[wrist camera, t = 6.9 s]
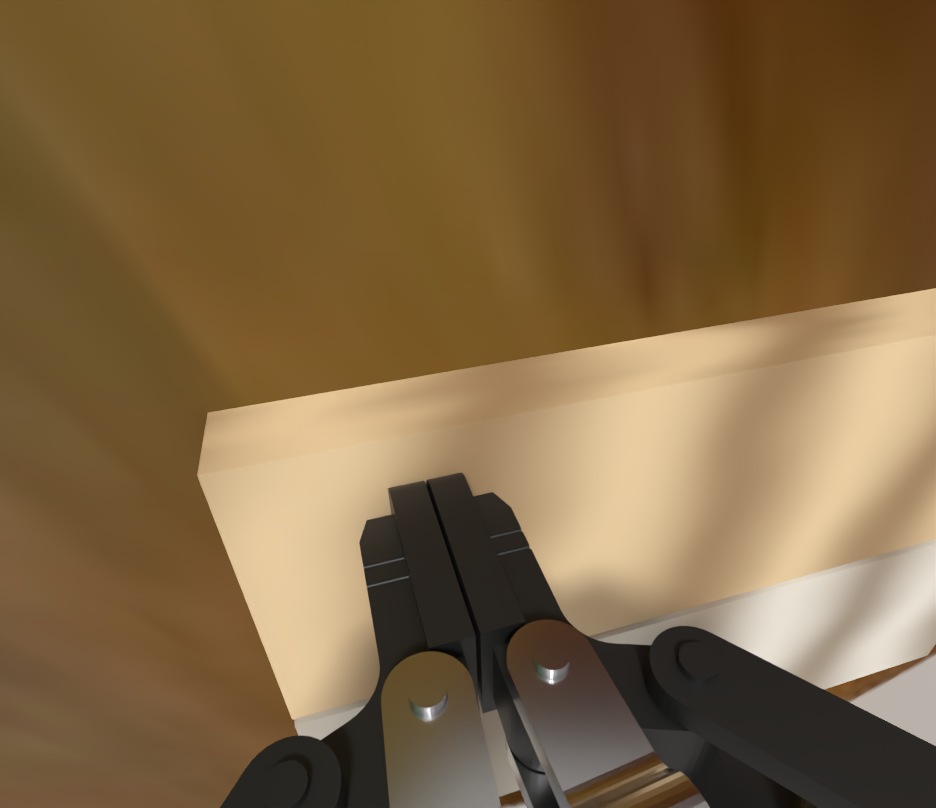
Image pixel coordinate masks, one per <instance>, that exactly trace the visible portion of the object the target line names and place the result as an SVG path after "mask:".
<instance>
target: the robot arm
mask: <svg viewBox="0 0 936 808" xmlns="http://www.w3.org/2000/svg"><path fill="white" fill-rule="evenodd" d="M388 494H389V501H390V508H391V515H388V516H383V517H379V518H374V519H370V520H367V521H366V524H365V527H364V530H363V533H362V536H361V539H360V542H359V544H360V550H361V556H362V562H363V568H364V574H365V580H366V586H367V592H368V597H369V603H370V609H371V615H372V621H373V627H374V633H375V639H376V644H377V650H378V656H379V664H380V671H379V679H378V683H377V686H376V688H375V691H374V693H373V695H372V697H371V698H370V700H369V702H368V703H367V704H366V705H365V707H364V708H363V709H362V710H361V711H360V712H359V713H358V714H357V715H356V716H355V717H353V718H352V719H351V720H350V721H348V722H347V723H345V724H344V725H342V726H341V727H339V728H338V729H336V730H335V731H333V732H332V733H330V734H329V735H327V736H326V737H324V738H323V739H321V740H319V739H317V738H314V737H311V736H303V735H300V736H291V737H287V738H284V739H281V740H279V741H276V742H274V743H273V744H271V745H269V746H268V747H266V748H265V749H264V750H263V751H261V752H260V753H259V754H258V755H257V756H256V757H255V758H254V759H253V760H252V761H251V762H250V764H249V765H248V766H247V768H246V769H245V771H244V772H243V774H242V775H241V777H240V778H239V780H238V781H237V783H236V784H235V786H234V787H233V789H232V790H231V792H230V793H229V795H228V796H227V798H226V800H225V801H224V803H223V804H222V806H221V807H220V808H501V805H500V801H499V796H498V792H497V787H496V783H495V778H494V774H493V769H492V765H491V760H490V756H489V751H488V747H487V742H486V738H485V733H484V729H483V724H482V720H481V715H480V707H479V703H480V706H481V709H482V713H486V712H490V711H493V710H496V709H497V711H498V714H499V717H500V720H501V723H502V726H503V729H504V732H505V749H506V755H507V758H508V761H509V763H510V766H511V768H512V771H513V773H514V776H515V778H516V781H517V784H518V786H519V789H520V791H521V794H522V796H523V799H524V801H525V804H526V806H527V808H936V746H934V745H932V744H930V743H928V742H926V741H924V740H922V739H920V738H918V737H916V736H914V735H912V734H910V733H908V732H906V731H904V730H902V729H900V728H898V727H897V726H894V725H893V724H891V723H888V722H887V721H885V720H883V719H881V718H879V717H877V716H875V715H873V714H871V713H869V712H867V711H865V710H863V709H861V708H859V707H857V706H855V705H853V704H851V703H849V702H847V701H845V700H843V699H841V698H839V697H837V696H835V695H833V694H831V693H829V692H827V691H825V690H823V689H821V688H819V687H817V686H815V685H813V684H812V683H810V682H808V681H806V680H804V679H802V678H800V677H798V676H796V675H794V674H792V673H790V672H788V671H786V670H784V669H782V668H780V667H778V666H776V665H774V664H772V663H770V662H768V661H766V660H764V659H762V658H760V657H758V656H756V655H754V654H752V653H750V652H748V651H746V650H744V649H742V648H740V647H738V646H736V645H734V644H732V643H730V642H728V641H727V640H725V639H723V638H721V637H719V636H717V635H715V634H713V633H711V632H708V631H706V630H704V629H700V628H697V627H692V626H676V627H672V628H669V629H666V630H665V631H663V632H661V633H660V634H659V635H658V636H657V637H656V638H655V640H654V641H653V643H652V645H637V644H616V643H607V642H603V641H598V640H596V639H593V638H591V637H589V636H587V635H585V634H583V633H581V632H580V631H579V630H577V629H576V628H575V627H574V626H573V625H572V624H571V623H570V622H569V621H568V620H567V619H566V618H565V616H564V614H563V613H562V611H561V609H560V607H559V605H558V603H557V601H556V599H555V597H554V595H553V593H552V591H551V589H550V586H549V584H548V582H547V580H546V578H545V576H544V574H543V572H542V570H541V568H540V566H539V564H538V562H537V560H536V558H535V556H534V553H533V551H532V549H530V547H529V543H528V541H527V539H526V537H525V535H524V533H523V532H522V530H521V527H520V525H519V523H518V520H517V518H516V516H515V514H514V512H513V510H512V508H511V507H510V506H509V505H508V504H506V503H505V502H504V501H503V500H502V499H500V498H499V497H498V496H497V495H496V494H494V493H493V492H491V493H486V494H482V495H477V496H473V495H472V492H471V490H470V487H469V485H468V483H467V480H466V478H465V476H464V474H463V473H462V472H461V473H456V474H451V475H447V476H442V477H437V478H432V479H428V480H427V481H426V484H425V482H424V481H419V482H414V483H410V484H405V485H400V486H395V487H391V488H388ZM478 700H479V703H478Z"/></svg>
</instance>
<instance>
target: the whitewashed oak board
mask: <svg viewBox="0 0 936 808" xmlns="http://www.w3.org/2000/svg"><path fill="white" fill-rule="evenodd" d="M676 626H692V627H697V628H700V629H704V630H706V631H708V632H711V633H713V634H715V635H717V636H719V637H721V638H723V639H725V640H727V641H728V642H730V643H732V644H734V645H736V646H738V647H740V648H742V649H744V650H746V651H748V652H750V653H752V654H754V655H756V656H758V657H760V658H762V659H764V660H766V661H768V662H770V663H772V664H774V665H776V666H778V667H780V668H782V669H784V670H786V671H788V672H790V673H792V674H794V675H796V676H798V677H800V678H802V679H804V680H806V681H808V682H810V683H812V684H813V685H815V686H817V687H819V688H821V689H823V690H824V689H827V688H830V687H833V686H836V685H839V684H842V683H845V682H848V681H851V680H854V679H857V678H860V677H863V676H866V675H869V674H872V673H875V672H878V671H882V670H885V669H888V668H891V667H894V666H897V665H900V664H903V663H906V662H909V661H912V660H915V659H918V658H921V657H924V656H927V655H928V654H929V652H930V651H931V650H932V648H933V647H934V645H935V644H936V539H934V540H931V541H927V542H923V543H920V544H916V545H913V546H909V547H906V548H902V549H899V550H895V551H891V552H888V553H884V554H881V555H877V556H874V557H870V558H866V559H863V560H859V561H856V562H852V563H849V564H845V565H841V566H838V567H834V568H831V569H827V570H824V571H820V572H817V573H813V574H809V575H806V576H802V577H799V578H795V579H792V580H788V581H784V582H781V583H777V584H774V585H770V586H767V587H763V588H760V589H756V590H752V591H749V592H745V593H742V594H738V595H735V596H731V597H727V598H724V599H720V600H717V601H713V602H710V603H706V604H703V605H699V606H695V607H692V608H688V609H685V610H681V611H678V612H674V613H670V614H667V615H663V616H660V617H656V618H653V619H649V620H646V621H642V622H638V623H635V624H631V625H628V626H624V627H621V628H617V629H613V630H610V631H606V632H603V633H599V634H596V635H592V636H589V637H591V638H593V639H596V640H598V641H603V642H607V643H616V644H637V645H652V643H653V641H654V640H655V638H656V637H657V636H658V635H659V634H660V633H661V632H663V631H665V630H666V629H669V628H672V627H676ZM369 700H370V698H368V699H364V700H361V701H357V702H353V703H350V704H346V705H343V706H339V707H336V708H332V709H328V710H325V711H321V712H318V713H314V714H311V715H307V716H303V717H300V718H296V719H295V728H296V730H297V733H298V735H299V736H300V735H303V736H311V737H314V738H317V739H319V740H321V739H323V738H324V737H326V736H327V735H329V734H330V733H332V732H333V731H335V730H336V729H338V728H339V727H341V726H342V725H344V724H345V723H347V722H348V721H350V720H351V719H352V718H353V717H355V716H356V715H357V714H358V713H359V712H360V711H361V710H362V709H363V708H364V707H365V705H366V704H367V703H368V702H369ZM478 703H479V700H478ZM479 707H480V715H481V720H482V724H483V729H484V733H485V738H486V742H487V747H488V751H489V756H490V760H491V765H492V769H493V774H494V778H495V783H496V787H497V792H498V796H499V797H500V796H503V795H506V794H509V793H512V792H515V791H518V790H520V789H519V786H518V784H517V781H516V778H515V776H514V773H513V771H512V768H511V766H510V763H509V761H508V758H507V755H506V749H505V732H504V729H503V726H502V723H501V720H500V717H499V714H498V711H497V709H496V710H493V711H490V712H486V713H482V709H481V706H480V703H479Z"/></svg>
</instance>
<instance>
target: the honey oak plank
mask: <svg viewBox="0 0 936 808" xmlns="http://www.w3.org/2000/svg"><path fill="white" fill-rule="evenodd" d="M461 472H462V473H463V474H464V476H465V478H466V480H467V483H468V485H469V487H470V490H471V492H472V495H473V496H477V495H482V494H486V493H491V492H493V493H494V494H496V495H497V496H498V497H499V498H500V499H502V500H503V501H504V502H505V503H506V504H508V505H509V506H510V507H511V508H512V510H513V512H514V514H515V516H516V518H517V520H518V523H519V525H520V527H521V530H522V532H523V533H524V535H525V537H526V539H527V541H528V543H529V547H530V549H532V551H533V553H534V556H535V558H536V560H537V562H538V564H539V566H540V568H541V570H542V572H543V574H544V576H545V578H546V580H547V582H548V584H549V586H550V589H551V591H552V593H553V595H554V597H555V599H556V601H557V603H558V605H559V607H560V609H561V611H562V613H563V614H564V616H565V618H566V619H567V620H568V621H569V622H570V623H571V624H572V625H573V626H574V627H575V628H576V629H577V630H579V631H580V632H581V633H583V634H585V635H587V636H592V635H596V634H599V633H603V632H606V631H610V630H613V629H617V628H621V627H624V626H628V625H631V624H635V623H638V622H642V621H646V620H649V619H653V618H656V617H660V616H663V615H667V614H670V613H674V612H678V611H681V610H685V609H688V608H692V607H695V606H699V605H703V604H706V603H710V602H713V601H717V600H720V599H724V598H727V597H731V596H735V595H738V594H742V593H745V592H749V591H752V590H756V589H760V588H763V587H767V586H770V585H774V584H777V583H781V582H784V581H788V580H792V579H795V578H799V577H802V576H806V575H809V574H813V573H817V572H820V571H824V570H827V569H831V568H834V567H838V566H841V565H845V564H849V563H852V562H856V561H859V560H863V559H866V558H870V557H874V556H877V555H881V554H884V553H888V552H891V551H895V550H899V549H902V548H906V547H909V546H913V545H916V544H920V543H923V542H927V541H931V540H934V539H936V288H935V289H930V290H924V291H918V292H912V293H906V294H900V295H894V296H889V297H883V298H877V299H871V300H865V301H859V302H854V303H848V304H842V305H836V306H830V307H824V308H818V309H813V310H807V311H801V312H795V313H789V314H783V315H777V316H772V317H766V318H760V319H754V320H748V321H742V322H736V323H731V324H725V325H719V326H713V327H707V328H701V329H696V330H690V331H684V332H678V333H672V334H666V335H660V336H655V337H649V338H643V339H637V340H631V341H625V342H619V343H614V344H608V345H602V346H596V347H590V348H584V349H578V350H573V351H567V352H561V353H555V354H549V355H543V356H538V357H532V358H526V359H520V360H514V361H508V362H502V363H497V364H491V365H485V366H479V367H473V368H467V369H461V370H456V371H450V372H444V373H438V374H432V375H426V376H420V377H415V378H409V379H403V380H397V381H391V382H385V383H380V384H374V385H368V386H362V387H356V388H350V389H344V390H339V391H333V392H327V393H321V394H315V395H309V396H303V397H298V398H292V399H286V400H280V401H274V402H268V403H262V404H257V405H251V406H245V407H239V408H233V409H227V410H222V411H216V412H210V413H208V415H207V421H206V427H205V433H204V439H203V445H202V451H201V457H200V463H199V469H198V475H197V476H198V479H199V481H200V484H201V486H202V489H203V491H204V494H205V497H206V499H207V502H208V504H209V507H210V509H211V512H212V515H213V517H214V520H215V522H216V525H217V527H218V530H219V533H220V535H221V538H222V540H223V543H224V545H225V548H226V551H227V553H228V556H229V558H230V561H231V563H232V566H233V568H234V571H235V574H236V576H237V579H238V581H239V584H240V586H241V589H242V592H243V594H244V597H245V599H246V602H247V604H248V607H249V610H250V612H251V615H252V617H253V620H254V622H255V625H256V628H257V630H258V633H259V635H260V638H261V640H262V643H263V646H264V648H265V651H266V653H267V656H268V658H269V661H270V664H271V666H272V669H273V671H274V674H275V676H276V679H277V682H278V684H279V687H280V689H281V692H282V694H283V697H284V700H285V702H286V705H287V707H288V710H289V712H290V715H291V718H292V720H293V719H296V718H300V717H303V716H307V715H311V714H314V713H318V712H321V711H325V710H328V709H332V708H336V707H339V706H343V705H346V704H350V703H353V702H357V701H361V700H364V699H368V698H371V697H372V695H373V693H374V691H375V688H376V686H377V683H378V679H379V671H380V664H379V656H378V650H377V644H376V639H375V633H374V627H373V621H372V615H371V609H370V603H369V597H368V592H367V586H366V580H365V574H364V568H363V562H362V556H361V550H360V544H359V542H360V539H361V536H362V533H363V530H364V527H365V524H366V521H367V520H370V519H374V518H379V517H383V516H388V515H391V508H390V501H389V494H388V488H391V487H395V486H400V485H405V484H410V483H414V482H419V481H424V482H425V484H426V481H427V480H428V479H432V478H437V477H442V476H447V475H451V474H456V473H461Z"/></svg>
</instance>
